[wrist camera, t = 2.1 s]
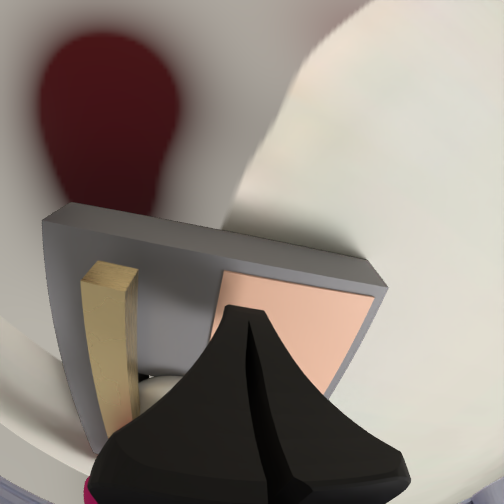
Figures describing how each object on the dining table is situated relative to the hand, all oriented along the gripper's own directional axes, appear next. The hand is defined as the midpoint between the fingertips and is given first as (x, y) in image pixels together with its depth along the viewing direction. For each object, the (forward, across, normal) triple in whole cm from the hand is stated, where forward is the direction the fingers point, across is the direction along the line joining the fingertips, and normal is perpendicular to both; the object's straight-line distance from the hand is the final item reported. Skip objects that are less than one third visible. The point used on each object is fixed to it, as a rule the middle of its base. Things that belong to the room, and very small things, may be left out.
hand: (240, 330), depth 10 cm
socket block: (+4, +1, +8) cm, 9 cm away
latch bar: (0, +4, +7) cm, 8 cm away
